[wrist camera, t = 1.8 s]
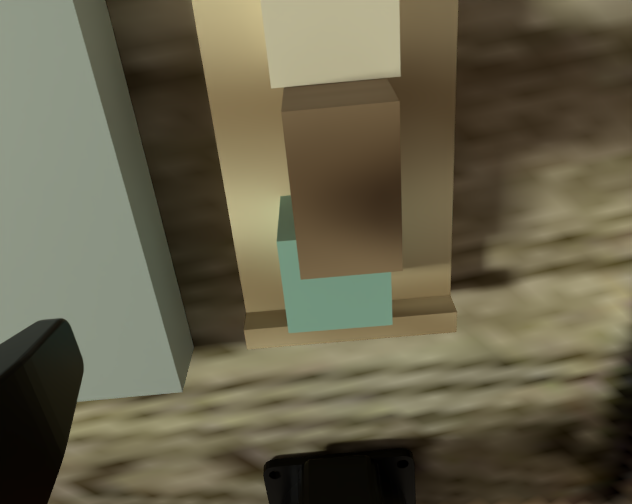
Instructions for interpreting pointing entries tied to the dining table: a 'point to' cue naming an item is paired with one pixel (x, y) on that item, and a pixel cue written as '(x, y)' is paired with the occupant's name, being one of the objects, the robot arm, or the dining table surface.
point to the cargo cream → (331, 40)
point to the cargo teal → (328, 290)
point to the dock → (83, 203)
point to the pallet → (270, 170)
